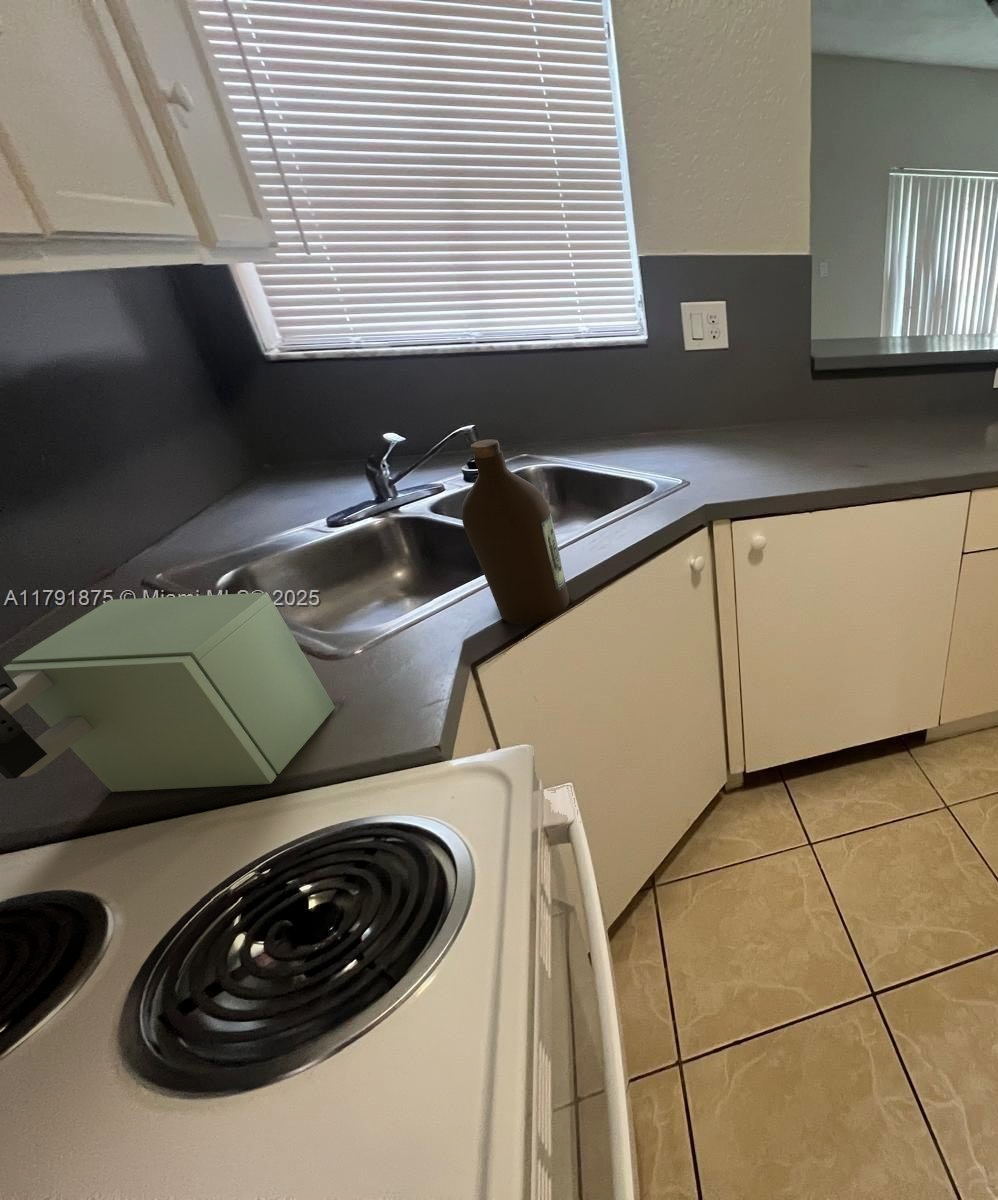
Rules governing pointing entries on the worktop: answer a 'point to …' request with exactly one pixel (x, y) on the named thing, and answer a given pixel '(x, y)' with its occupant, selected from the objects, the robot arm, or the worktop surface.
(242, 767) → the cupboard door
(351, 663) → the worktop surface
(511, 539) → the olive oil
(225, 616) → the cupboard
